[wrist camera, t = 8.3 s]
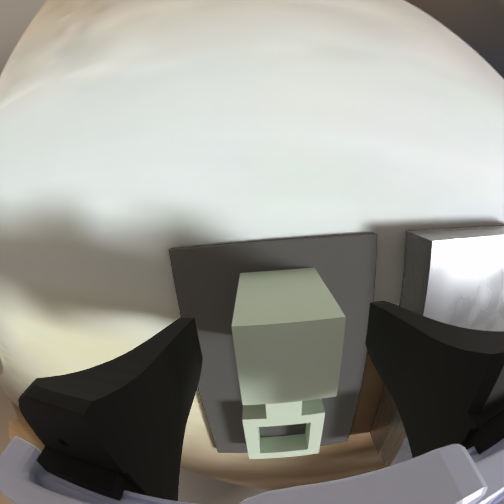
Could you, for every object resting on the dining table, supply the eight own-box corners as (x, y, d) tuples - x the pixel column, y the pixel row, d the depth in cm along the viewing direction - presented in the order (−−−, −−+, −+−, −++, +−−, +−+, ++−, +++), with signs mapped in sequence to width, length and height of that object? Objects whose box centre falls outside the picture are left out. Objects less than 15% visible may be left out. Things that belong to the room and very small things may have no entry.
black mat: (346, 437, 17) (347, 441, 16) (218, 448, 17) (218, 452, 17) (373, 232, 13) (376, 234, 12) (171, 248, 13) (169, 250, 13)
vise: (462, 399, 16) (494, 443, 10) (369, 432, 17) (392, 493, 10) (509, 224, 12) (574, 247, 6) (406, 230, 13) (491, 267, 6)
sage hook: (315, 438, 16) (325, 492, 11) (249, 443, 16) (248, 499, 11) (327, 266, 13) (365, 314, 8) (226, 273, 13) (210, 327, 8)
